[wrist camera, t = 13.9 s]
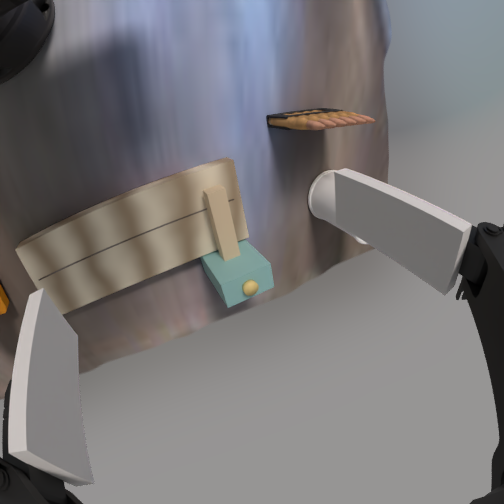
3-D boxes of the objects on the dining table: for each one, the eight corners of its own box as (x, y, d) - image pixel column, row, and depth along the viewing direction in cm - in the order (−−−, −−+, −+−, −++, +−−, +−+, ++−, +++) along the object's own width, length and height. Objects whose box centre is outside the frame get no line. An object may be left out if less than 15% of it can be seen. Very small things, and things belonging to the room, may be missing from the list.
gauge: (204, 271, 45) (230, 311, 37) (179, 189, 37) (201, 214, 29) (243, 254, 47) (277, 289, 39) (226, 173, 39) (261, 193, 31)
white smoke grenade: (298, 196, 47) (390, 247, 31) (332, 158, 46) (429, 193, 31) (325, 231, 53) (406, 284, 37) (355, 197, 53) (439, 238, 37)
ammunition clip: (267, 127, 39) (319, 136, 29) (266, 115, 38) (318, 120, 28) (323, 118, 42) (379, 127, 33) (322, 108, 41) (379, 114, 32)
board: (57, 307, 36) (56, 317, 34) (19, 242, 29) (15, 250, 27) (242, 230, 45) (249, 237, 43) (226, 157, 38) (233, 160, 36)
